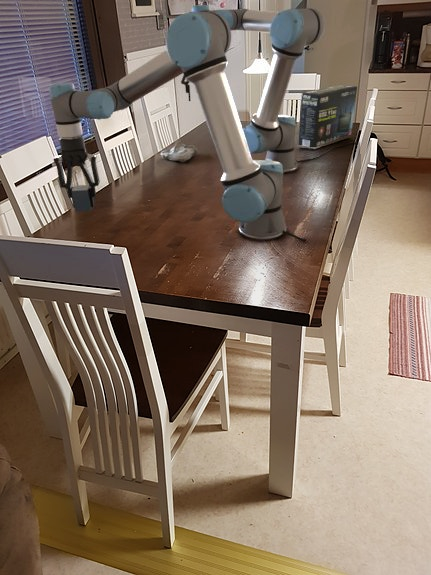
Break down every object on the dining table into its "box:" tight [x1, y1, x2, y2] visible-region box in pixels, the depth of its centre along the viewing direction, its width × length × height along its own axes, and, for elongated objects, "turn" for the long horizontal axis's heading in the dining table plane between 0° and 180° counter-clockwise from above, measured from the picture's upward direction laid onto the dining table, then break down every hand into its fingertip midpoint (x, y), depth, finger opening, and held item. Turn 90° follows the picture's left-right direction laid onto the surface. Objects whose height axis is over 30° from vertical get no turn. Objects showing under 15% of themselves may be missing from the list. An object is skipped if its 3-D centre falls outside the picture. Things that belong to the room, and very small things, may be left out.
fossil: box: [160, 142, 199, 163], centre depth 229 cm, size 18×11×15 cm
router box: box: [297, 84, 358, 151], centre depth 238 cm, size 36×11×27 cm, turn 134°
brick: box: [71, 184, 94, 212], centre depth 155 cm, size 5×6×7 cm
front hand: (84, 206), depth 157 cm, fingers closed on brick, 5 cm apart
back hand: (204, 100), depth 208 cm, fingers open, 13 cm apart
